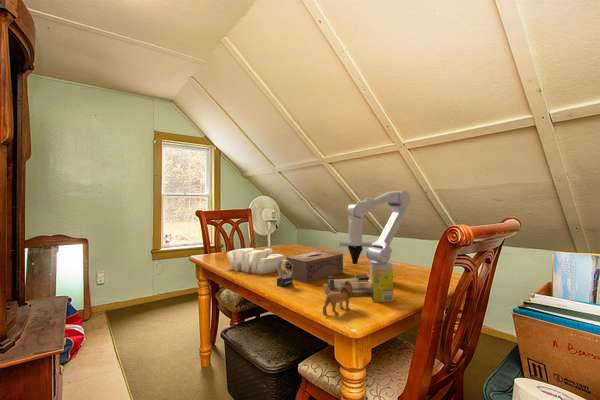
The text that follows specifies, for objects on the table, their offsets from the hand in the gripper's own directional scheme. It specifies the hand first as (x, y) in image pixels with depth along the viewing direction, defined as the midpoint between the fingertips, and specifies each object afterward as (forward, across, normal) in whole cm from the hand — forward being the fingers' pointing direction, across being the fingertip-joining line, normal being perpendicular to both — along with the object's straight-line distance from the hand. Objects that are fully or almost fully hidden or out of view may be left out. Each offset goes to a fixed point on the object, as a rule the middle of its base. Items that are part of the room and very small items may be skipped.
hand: (354, 263), depth 120 cm
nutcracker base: (+10, -4, -5) cm, 12 cm away
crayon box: (+10, +6, -17) cm, 21 cm away
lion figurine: (+11, -11, -25) cm, 29 cm away
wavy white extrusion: (+11, -48, +38) cm, 62 cm away
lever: (+8, -4, -5) cm, 11 cm away
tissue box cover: (+11, -15, +22) cm, 28 cm away
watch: (+11, -30, +6) cm, 32 cm away
